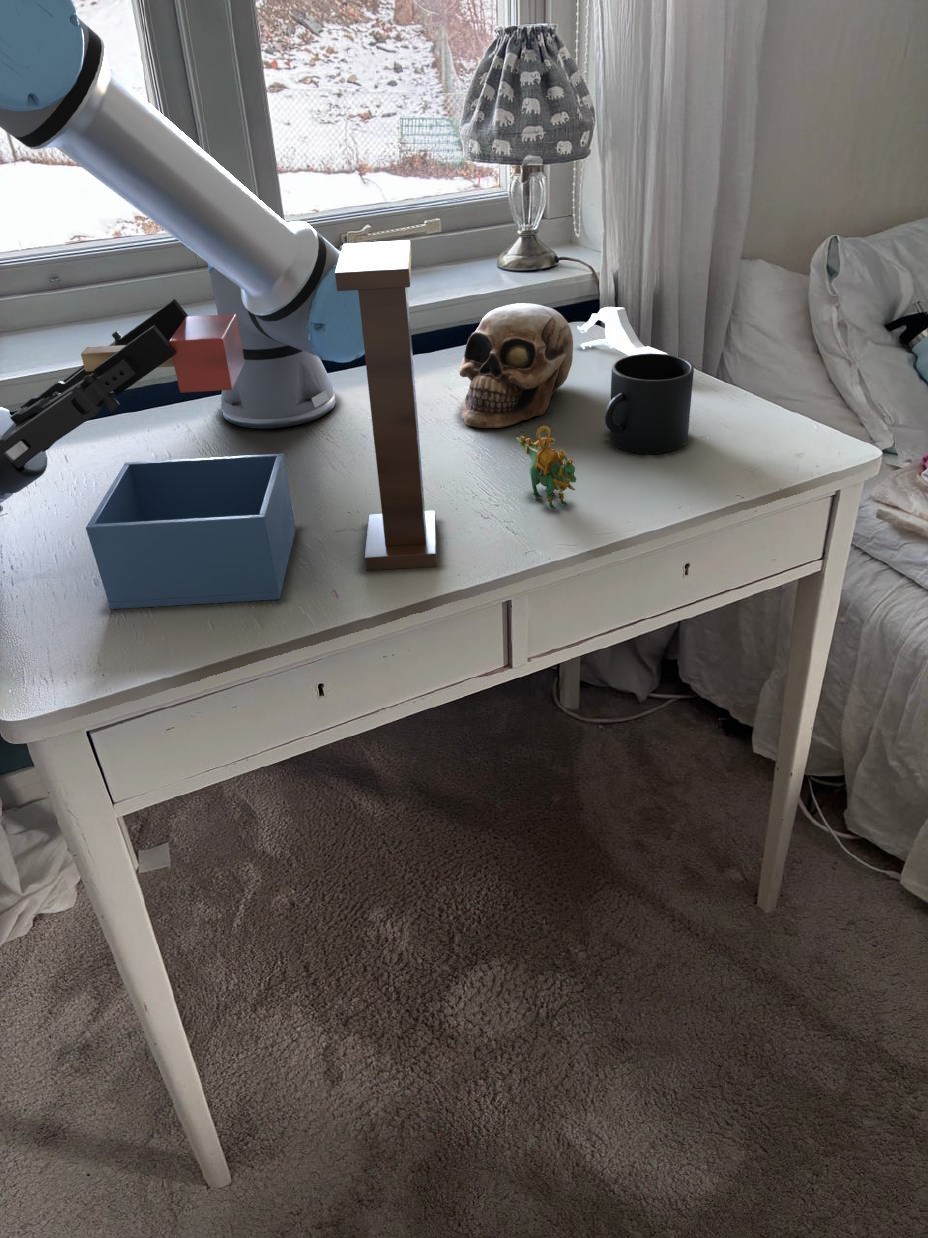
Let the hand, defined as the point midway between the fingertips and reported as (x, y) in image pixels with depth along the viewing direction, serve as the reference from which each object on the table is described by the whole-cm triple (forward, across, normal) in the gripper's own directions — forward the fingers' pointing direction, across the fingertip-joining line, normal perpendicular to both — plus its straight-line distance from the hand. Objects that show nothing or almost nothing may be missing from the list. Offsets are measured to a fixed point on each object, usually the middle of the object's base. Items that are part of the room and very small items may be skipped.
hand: (174, 325), depth 82 cm
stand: (+3, -2, -30) cm, 30 cm away
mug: (+28, -24, -44) cm, 57 cm away
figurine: (+17, -11, -38) cm, 43 cm away
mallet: (-4, 0, -3) cm, 5 cm away
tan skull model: (+16, -39, -37) cm, 56 cm away
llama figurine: (+30, -52, -45) cm, 75 cm away
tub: (-14, 0, -20) cm, 24 cm away
